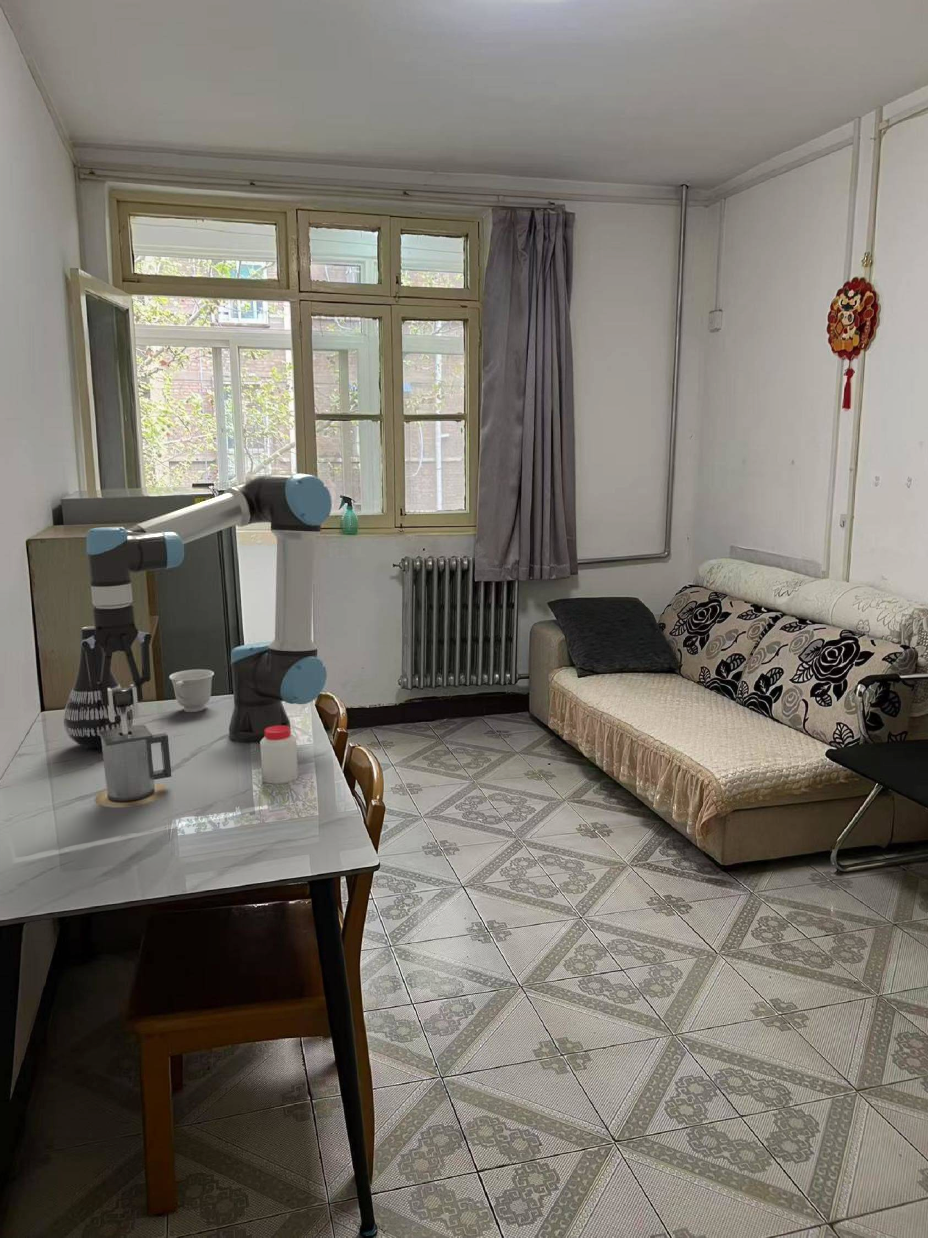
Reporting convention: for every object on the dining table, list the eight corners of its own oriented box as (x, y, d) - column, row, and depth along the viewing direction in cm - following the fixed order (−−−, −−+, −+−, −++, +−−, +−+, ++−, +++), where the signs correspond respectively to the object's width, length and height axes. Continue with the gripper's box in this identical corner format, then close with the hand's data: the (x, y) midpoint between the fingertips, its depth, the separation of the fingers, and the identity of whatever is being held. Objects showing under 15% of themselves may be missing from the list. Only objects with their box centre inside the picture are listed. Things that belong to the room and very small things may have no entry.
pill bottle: (305, 774, 203) (302, 725, 201) (284, 785, 196) (281, 736, 194) (276, 769, 206) (273, 722, 204) (255, 781, 199) (251, 732, 197)
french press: (166, 780, 199) (161, 721, 196) (176, 793, 191) (170, 732, 188) (104, 792, 192) (98, 731, 190) (111, 806, 185) (105, 743, 182)
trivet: (159, 781, 200) (159, 777, 200) (173, 801, 188) (173, 798, 188) (90, 794, 194) (90, 790, 193) (101, 816, 182) (100, 812, 181)
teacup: (158, 718, 249) (155, 682, 247) (184, 703, 263) (181, 668, 261) (200, 719, 247) (197, 682, 245) (223, 703, 261) (221, 669, 259)
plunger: (144, 773, 195) (136, 684, 192) (151, 783, 189) (143, 691, 185) (108, 779, 192) (99, 689, 188) (114, 790, 185) (105, 697, 182)
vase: (136, 732, 236) (125, 619, 231) (135, 751, 221) (124, 630, 216) (69, 740, 231) (57, 624, 226) (63, 759, 217) (50, 636, 211)
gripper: (153, 598, 191) (163, 707, 195) (64, 607, 183) (76, 721, 187) (161, 603, 184) (170, 716, 189) (69, 612, 176) (81, 730, 180)
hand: (124, 718), depth 188 cm, fingers closed on plunger, 4 cm apart
